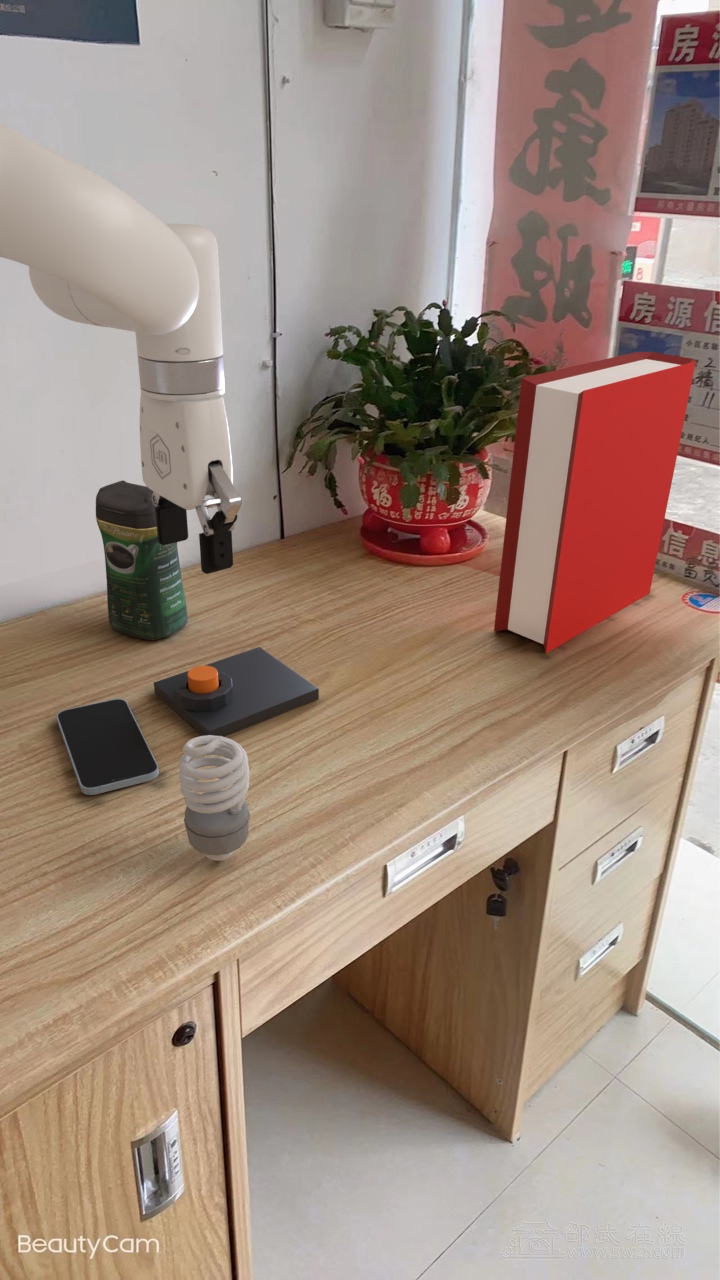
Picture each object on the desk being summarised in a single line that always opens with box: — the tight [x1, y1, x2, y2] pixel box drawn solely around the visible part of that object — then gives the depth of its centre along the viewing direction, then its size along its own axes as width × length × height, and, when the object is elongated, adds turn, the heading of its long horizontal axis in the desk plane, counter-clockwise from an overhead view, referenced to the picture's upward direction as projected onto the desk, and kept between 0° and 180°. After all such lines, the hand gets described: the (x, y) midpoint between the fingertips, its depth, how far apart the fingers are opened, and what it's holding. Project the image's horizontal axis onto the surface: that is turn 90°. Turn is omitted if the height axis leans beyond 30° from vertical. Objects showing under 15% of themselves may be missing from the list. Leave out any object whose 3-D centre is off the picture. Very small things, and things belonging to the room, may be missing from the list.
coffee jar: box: [95, 480, 189, 641], centre depth 108 cm, size 10×8×19 cm
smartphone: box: [56, 698, 160, 796], centre depth 89 cm, size 7×1×15 cm
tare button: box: [187, 665, 219, 694], centre depth 94 cm, size 3×3×2 cm
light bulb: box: [178, 735, 251, 862], centre depth 73 cm, size 6×6×12 cm
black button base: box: [153, 646, 320, 737], centre depth 98 cm, size 14×12×3 cm
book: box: [493, 351, 697, 654], centre depth 112 cm, size 27×8×32 cm, turn 135°
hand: (194, 554), depth 88 cm, fingers open, 8 cm apart
